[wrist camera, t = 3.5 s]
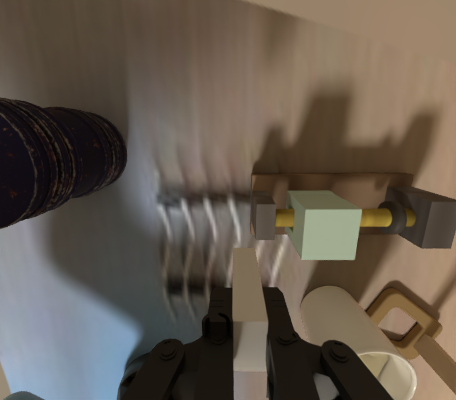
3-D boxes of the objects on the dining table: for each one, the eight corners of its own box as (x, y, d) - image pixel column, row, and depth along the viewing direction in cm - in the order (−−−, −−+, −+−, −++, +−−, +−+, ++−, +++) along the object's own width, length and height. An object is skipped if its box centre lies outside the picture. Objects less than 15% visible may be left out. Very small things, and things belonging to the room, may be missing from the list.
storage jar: (140, 173, 32) (64, 206, 17) (76, 199, 33) (-46, 250, 18) (104, 98, 29) (-20, 63, 15) (36, 128, 30) (-142, 122, 16)
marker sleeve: (284, 229, 30) (301, 259, 22) (287, 190, 28) (305, 209, 21) (324, 229, 30) (354, 260, 22) (329, 190, 28) (362, 209, 21)
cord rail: (250, 230, 33) (256, 261, 25) (251, 173, 31) (258, 187, 23) (393, 229, 33) (447, 261, 25) (404, 172, 31) (467, 186, 23)
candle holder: (357, 275, 35) (418, 345, 24) (360, 329, 38) (417, 415, 26) (290, 286, 36) (319, 358, 24) (298, 337, 38) (327, 425, 27)
